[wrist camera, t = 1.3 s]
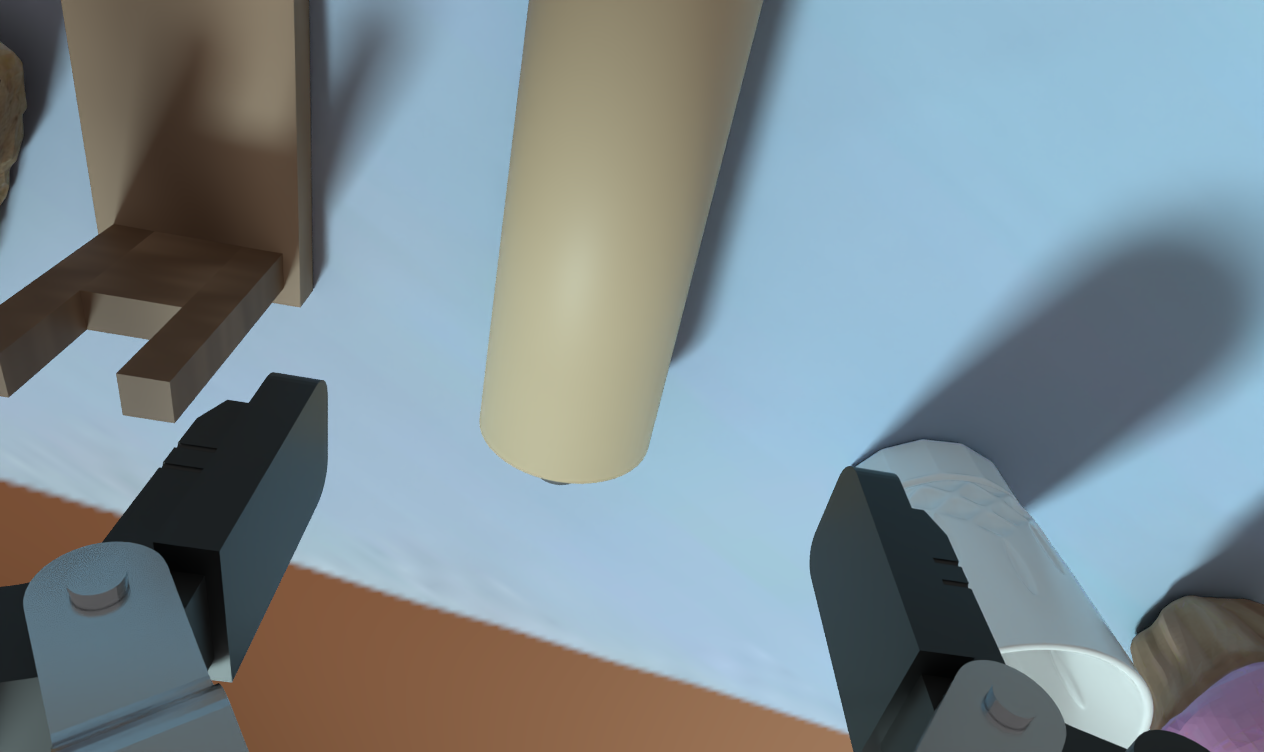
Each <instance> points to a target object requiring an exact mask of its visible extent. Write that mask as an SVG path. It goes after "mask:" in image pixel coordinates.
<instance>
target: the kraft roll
mask: <svg viewBox="0 0 1264 752" xmlns="http://www.w3.org/2000/svg"><path fill="white" fill-rule="evenodd" d="M762 4H763V0H529V5H528V13H527V21H526V30H525V38H524V47H523V55H522V64H521V72H520V81H519V89H518V98H517V106H516V115H515V123H514V132H513V140H512V149H511V157H510V166H509V174H508V183H507V191H506V199H505V208H504V216H503V225H502V233H501V242H500V250H499V259H498V267H497V276H496V284H495V293H494V301H493V310H492V318H491V327H490V335H489V344H488V352H487V361H486V369H485V377H484V386H483V394H482V403H481V411H480V429H481V433H482V435H483V437H484V440H485V441H486V443H487V444H488V446H489V447H490V448H491V449H492V450H493V451H494V452H495V454H496V455H498V456H499V457H500V458H501V459H503V460H504V461H505V462H507V463H508V464H510V465H512V466H513V467H515V468H517V469H519V470H521V471H523V472H525V473H528V474H530V475H533V476H536V477H539V478H541V479H542V480H544V481H546V482H548V483H551V484H556V485H566V484H571V483H577V484H584V483H596V482H603V481H607V480H611V479H615V478H617V477H620V476H622V475H624V474H626V473H628V472H630V471H631V470H633V469H634V468H635V467H636V466H638V465H639V463H640V462H641V461H642V460H643V458H644V457H645V455H646V453H647V450H648V447H649V443H650V439H651V435H652V431H653V427H654V423H655V420H656V416H657V412H658V408H659V404H660V400H661V396H662V392H663V389H664V385H665V381H666V377H667V373H668V369H669V365H670V361H671V357H672V354H673V350H674V346H675V342H676V338H677V334H678V330H679V326H680V323H681V319H682V315H683V311H684V307H685V303H686V299H687V295H688V291H689V288H690V284H691V280H692V276H693V272H694V268H695V264H696V260H697V257H698V253H699V249H700V245H701V241H702V237H703V233H704V229H705V225H706V222H707V218H708V214H709V210H710V206H711V202H712V198H713V194H714V191H715V187H716V183H717V179H718V175H719V171H720V167H721V163H722V159H723V156H724V152H725V148H726V144H727V140H728V136H729V132H730V128H731V124H732V121H733V117H734V113H735V109H736V105H737V101H738V97H739V93H740V90H741V86H742V82H743V78H744V74H745V70H746V66H747V62H748V58H749V55H750V51H751V47H752V43H753V39H754V35H755V31H756V27H757V24H758V20H759V16H760V12H761V8H762Z"/></svg>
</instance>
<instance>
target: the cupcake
mask: <svg viewBox="0 0 1264 752" xmlns="http://www.w3.org/2000/svg"><path fill="white" fill-rule="evenodd" d="M1130 649H1131V654H1132V658H1133V663H1134V666H1135V667H1136V669H1137V670H1138V672H1139V673H1140V675H1141V676H1142V678H1143V679H1144V680H1145V682H1146V684H1147V685H1148V687H1149V689H1150V692H1151V695H1152V699H1153V706H1154V711H1153V719H1152V723H1151V726H1150V730H1166V731H1170V732H1174V733H1177V734H1180V735H1182V736H1185V737H1187V738H1189V739H1191V740H1193V741H1195V742H1197V743H1198V744H1200V745H1201V746H1203V747H1205V748H1206V749H1208V750H1209V751H1210V752H1264V604H1260V603H1257V602H1254V601H1251V600H1248V599H1226V598H1214V597H1199V596H1195V595H1190V596H1184V597H1182V598H1180V599H1177V600H1175V601H1173V602H1171V603H1170V604H1169V605H1167V606H1166V607H1165V608H1163V609H1162V611H1161V612H1160V614H1159V616H1158V618H1157V619H1156V620H1155V622H1154V623H1153V624H1152V625H1151V626H1150V627H1149V628H1147V629H1145V630H1144V631H1142V632H1140V633H1139V634H1138V635H1136V636H1135V637H1134V638H1133V640H1132V643H1131V647H1130Z"/></svg>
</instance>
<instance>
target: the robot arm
mask: <svg viewBox="0 0 1264 752" xmlns="http://www.w3.org/2000/svg"><path fill="white" fill-rule="evenodd" d="M327 462H328V392H327V385H326V382H325V381H324V380H318V379H312V378H306V377H299V376H293V375H287V374H281V373H274V372H272V373H270V374H269V375H268V376H267V377H266V379H265V380H264V382H263V383H262V385H261V386H260V388H259V389H258V390H257V392H256V393H255V395H254V396H253V398H252V399H251V401H250V402H249V403H245V402H238V401H232V400H226V401H225V402H223V403H221V404H220V405H218V406H216V407H215V408H213V409H211V410H210V411H208V412H206V413H205V414H203V415H202V416H200V417H198V418H197V419H196V420H195V421H194V423H193V424H192V425H191V426H190V428H189V429H188V430H187V432H186V433H185V434H184V436H183V437H182V438H181V440H180V441H179V442H178V447H177V448H175V447H174V449H173V450H172V451H171V453H170V454H169V455H168V457H167V458H166V459H165V461H164V462H163V466H162V468H158V470H157V471H156V472H155V474H154V475H153V476H152V478H151V479H150V480H149V482H148V483H147V484H146V485H145V487H144V488H143V489H142V491H141V492H140V493H139V495H138V496H137V497H136V499H135V500H134V501H133V502H132V504H131V505H130V506H129V508H128V509H127V510H126V512H125V513H124V514H123V516H122V517H121V518H120V520H119V521H118V522H117V523H116V525H115V526H114V527H113V529H112V530H111V531H110V533H109V534H108V535H107V537H106V538H105V539H104V541H103V542H102V543H97V544H93V545H88V546H85V547H82V548H79V549H76V550H73V551H71V552H69V553H66V554H64V555H62V556H60V557H58V558H57V559H55V560H53V561H52V562H50V563H49V564H48V565H46V566H45V567H44V568H42V569H41V570H40V571H39V572H38V573H37V574H36V575H35V576H34V578H33V579H32V581H31V582H29V583H25V584H20V585H13V586H5V587H0V752H249V751H248V748H247V746H246V743H245V741H244V738H243V736H242V733H241V730H240V728H239V726H238V723H237V720H236V718H235V715H234V712H233V710H232V707H231V705H230V702H229V700H228V697H227V695H226V693H225V691H224V689H223V687H222V686H221V685H220V684H219V683H218V684H216V685H213V683H212V681H211V680H217V681H225V682H232V681H233V679H234V677H235V675H236V673H237V671H238V669H239V666H240V664H241V663H242V660H243V658H244V656H245V654H246V652H247V650H248V648H249V646H250V644H251V642H252V640H253V637H254V635H255V633H256V631H257V629H258V627H259V625H260V623H261V621H262V619H263V617H264V614H265V613H266V610H267V608H268V606H269V604H270V602H271V600H272V598H273V596H274V594H275V592H276V590H277V588H278V586H279V583H280V581H281V579H282V577H283V575H284V573H285V571H286V569H287V567H288V565H289V563H290V560H291V558H292V556H293V554H294V552H295V550H296V548H297V546H298V544H299V542H300V540H301V538H302V535H303V533H304V531H305V529H306V527H307V525H308V523H309V521H310V519H311V517H312V515H313V513H314V510H315V508H316V506H317V504H318V502H319V500H320V497H321V494H322V491H323V487H324V483H325V478H326V472H327ZM958 563H959V560H958V558H957V556H956V554H955V552H954V549H953V547H952V545H951V543H950V541H949V538H948V536H947V535H946V534H945V532H944V531H943V530H942V529H941V528H940V527H939V526H938V525H937V524H936V523H935V522H934V520H933V519H932V518H931V517H930V516H929V515H928V514H927V513H926V512H925V511H924V510H921V509H914V508H912V507H911V505H910V502H909V500H908V497H907V495H906V493H905V490H904V488H903V486H902V483H901V481H900V479H899V477H898V476H897V475H896V474H895V473H889V472H883V471H877V470H871V469H865V468H858V467H852V466H848V467H846V468H845V469H844V470H843V471H842V473H841V474H840V476H839V479H838V481H837V483H836V486H835V488H834V490H833V493H832V495H831V497H830V500H829V502H828V504H827V507H826V509H825V511H824V514H823V516H822V518H821V521H820V523H819V525H818V528H817V530H816V532H815V535H814V538H813V541H812V545H811V551H810V574H811V579H812V583H813V587H814V591H815V596H816V600H817V604H818V608H819V612H820V616H821V620H822V624H823V628H824V633H825V637H826V641H827V645H828V649H829V653H830V657H831V661H832V665H833V670H834V674H835V678H836V682H837V686H838V690H839V694H840V698H841V702H842V707H843V711H844V715H845V719H846V723H847V727H848V731H849V735H850V739H851V744H852V747H853V751H854V752H1210V751H1209V750H1208V749H1206V748H1205V747H1203V746H1201V745H1200V744H1198V743H1197V742H1195V741H1193V740H1191V739H1189V738H1187V737H1185V736H1182V735H1180V734H1177V733H1174V732H1170V731H1166V730H1149V731H1146V732H1143V733H1142V734H1141V735H1139V736H1138V737H1137V738H1136V740H1135V741H1134V742H1133V743H1132V744H1131V745H1130V747H1129V748H1128V749H1126V748H1123V747H1121V746H1119V745H1116V744H1114V743H1111V742H1109V741H1106V740H1104V739H1101V738H1099V737H1097V736H1094V735H1092V734H1089V733H1087V732H1084V731H1082V730H1079V729H1077V728H1075V727H1072V726H1070V725H1068V724H1066V723H1065V722H1064V719H1063V717H1062V714H1061V712H1060V710H1059V708H1058V707H1057V705H1056V704H1055V702H1054V701H1053V700H1052V698H1051V697H1050V696H1049V695H1048V693H1047V692H1046V691H1045V690H1044V689H1043V688H1042V687H1041V686H1040V685H1038V684H1037V683H1036V682H1035V681H1034V680H1032V679H1031V678H1029V677H1028V676H1027V675H1025V674H1024V673H1022V672H1020V671H1018V670H1017V669H1015V668H1012V667H1010V666H1008V665H1006V664H1005V661H1004V659H1003V657H1002V655H1001V653H1000V650H999V648H998V646H997V644H996V642H995V640H994V637H993V635H992V633H991V631H990V629H989V626H988V624H987V622H986V620H985V618H984V615H983V613H982V611H981V609H980V607H979V604H978V602H977V600H976V598H975V596H974V593H973V591H972V589H970V588H968V584H969V582H968V580H967V578H966V576H965V574H964V571H963V569H962V567H960V566H958Z"/></svg>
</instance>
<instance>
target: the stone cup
mask: <svg viewBox="0 0 1264 752" xmlns="http://www.w3.org/2000/svg"><path fill="white" fill-rule="evenodd" d="M26 109H27V101H26V94H25V87H24V72H23V64H22V62H21V60H20V59H19V58H18V57H17V55H16V54H15V53H14V52H13V51H12V50H10V49H9V48H8V47H6V46H5V45H4V44H3V43H1V42H0V205H1V203H2V202H3V201H4V199H5V198H6V196H7V193H8V189H9V171H10V169H11V166H12V165H13V164H14V163H15V162H16V161H17V157H18V154H19V150H20V147H21V143H22V140H23V136H24V133H23V116H22V115H23V114H24V112H25V110H26Z"/></svg>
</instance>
